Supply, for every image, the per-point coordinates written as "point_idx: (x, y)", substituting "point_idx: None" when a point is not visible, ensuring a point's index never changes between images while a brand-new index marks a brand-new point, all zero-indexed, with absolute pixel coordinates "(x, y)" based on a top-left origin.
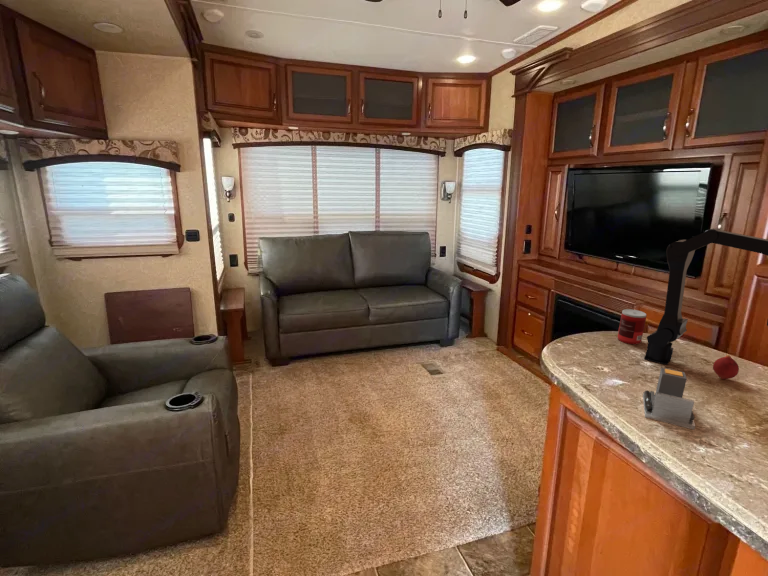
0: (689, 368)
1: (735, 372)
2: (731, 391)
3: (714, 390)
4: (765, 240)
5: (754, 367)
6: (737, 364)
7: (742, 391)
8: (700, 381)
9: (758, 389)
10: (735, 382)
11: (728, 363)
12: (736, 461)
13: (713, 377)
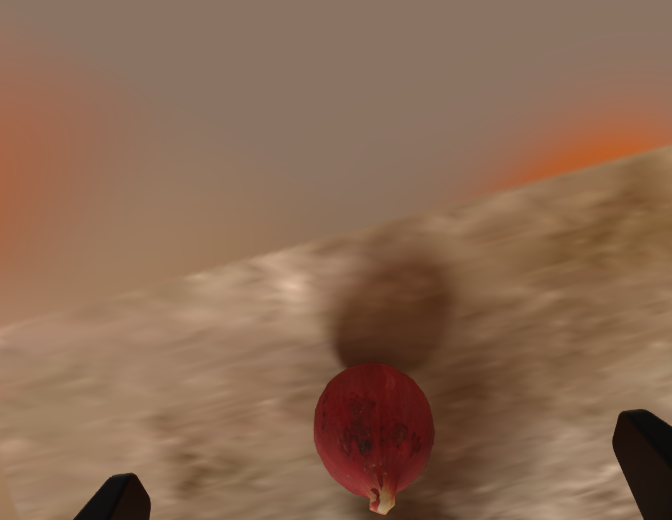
0: None
1: (399, 383)
2: (494, 307)
3: (551, 348)
4: None
5: (17, 352)
6: (357, 422)
7: (445, 281)
8: (491, 410)
9: (336, 248)
10: (349, 334)
11: (420, 451)
12: None
13: None
